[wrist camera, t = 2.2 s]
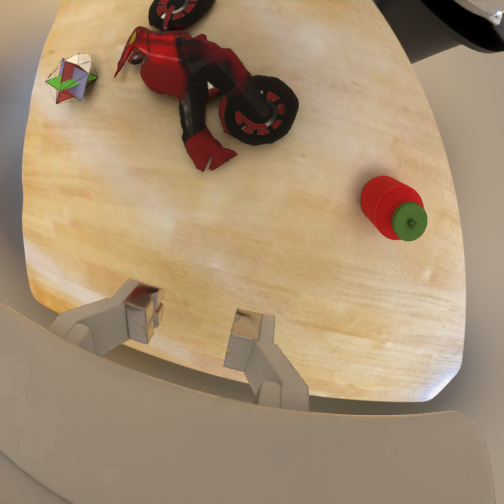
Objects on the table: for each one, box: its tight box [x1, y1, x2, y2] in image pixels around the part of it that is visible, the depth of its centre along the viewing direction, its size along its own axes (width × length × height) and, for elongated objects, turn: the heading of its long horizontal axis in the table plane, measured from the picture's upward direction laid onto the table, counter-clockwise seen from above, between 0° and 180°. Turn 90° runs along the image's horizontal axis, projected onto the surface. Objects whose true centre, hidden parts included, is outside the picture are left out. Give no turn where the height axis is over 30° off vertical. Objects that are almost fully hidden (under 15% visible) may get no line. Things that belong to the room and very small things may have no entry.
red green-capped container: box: [361, 176, 427, 241], centre depth 26 cm, size 6×6×10 cm
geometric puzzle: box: [45, 53, 98, 104], centre depth 24 cm, size 7×7×8 cm
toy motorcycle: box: [114, 0, 299, 172], centre depth 24 cm, size 25×5×16 cm
